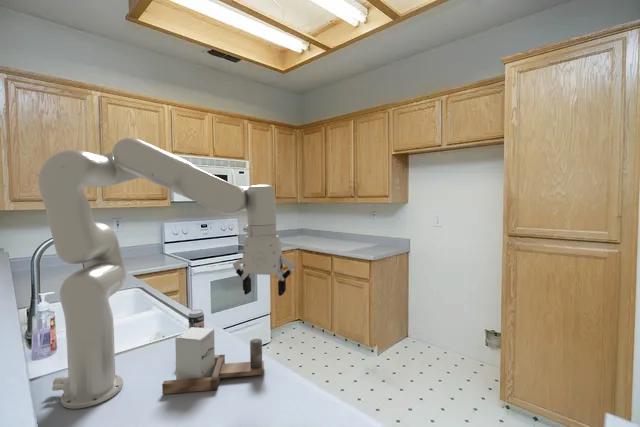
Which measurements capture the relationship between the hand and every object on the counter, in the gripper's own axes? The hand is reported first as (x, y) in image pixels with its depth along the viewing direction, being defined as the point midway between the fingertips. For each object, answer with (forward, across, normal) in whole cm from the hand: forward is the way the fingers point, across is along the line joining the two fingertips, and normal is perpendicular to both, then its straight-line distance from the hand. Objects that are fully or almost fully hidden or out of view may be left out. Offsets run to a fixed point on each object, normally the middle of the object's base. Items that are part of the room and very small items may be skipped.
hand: (264, 293), depth 86 cm
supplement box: (+22, -18, -5) cm, 29 cm away
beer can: (+22, -28, +10) cm, 37 cm away
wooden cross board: (+22, -13, -3) cm, 26 cm away
